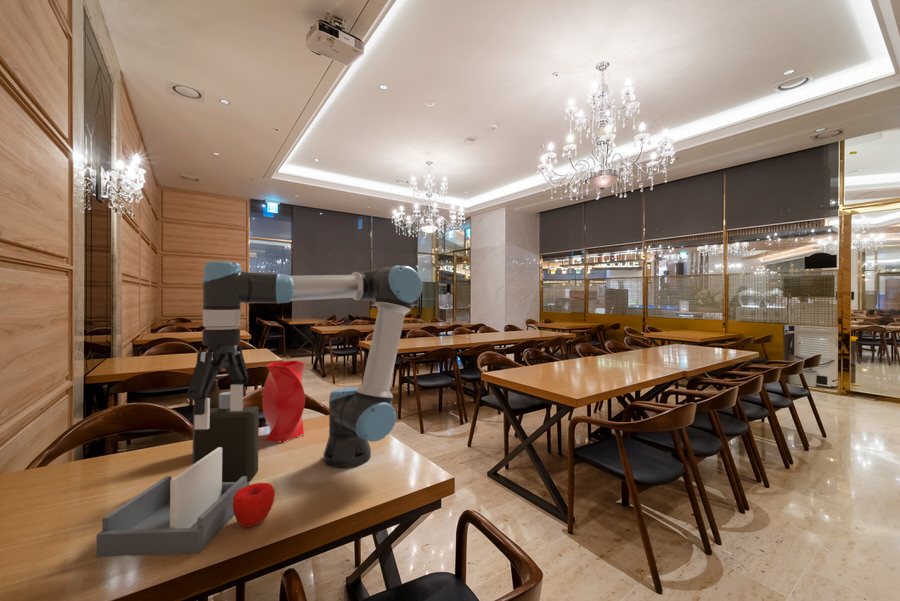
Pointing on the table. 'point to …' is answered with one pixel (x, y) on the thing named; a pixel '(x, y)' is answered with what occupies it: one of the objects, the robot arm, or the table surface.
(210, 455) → the plate
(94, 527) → the table surface
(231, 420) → the bottle
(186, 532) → the grey tray
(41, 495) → the table surface
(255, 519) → the apple
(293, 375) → the vase
